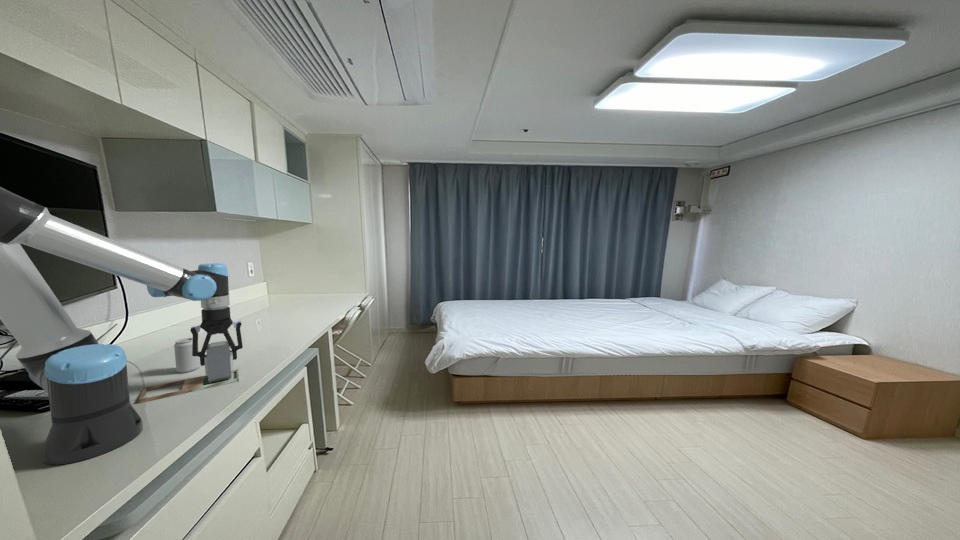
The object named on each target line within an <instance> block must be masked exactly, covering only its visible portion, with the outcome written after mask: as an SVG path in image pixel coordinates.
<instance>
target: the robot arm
mask: <svg viewBox="0 0 960 540" xmlns="http://www.w3.org/2000/svg"><path fill="white" fill-rule="evenodd" d="M22 245H24V246H28V247H31V248H33V249H36V250H39V251H42V252H45V253H48V254H52V255H54V256H57V257H59V258H64V259H67V260H69V261H73V262H75V263H79V264H81V265H85V266H88V267H91V268H94V269H96V270H100V271H103V272H106V273H109V274H112V275H114V276H117V277H120V278H123V279H127V280H130V281H133V282H136V283H139V284H142V285H145V286H146V290H147V293H148V295H150V296H151V297H153V298H162V297H163V298H166V297H177V298H183V299H185V300H189V301H192V302H196V301H197V302H200V308H202V309H201V310H200V312H201V323H200V324H199V325H196V326H192V327H191V328H190V332H191V334H192V338H193V343H192V356H194V357H195V356H198V357H199V365H200V367H203V366H204V371H205V373H204V374H205V375H208V367H207V352H206V348H207V346H208V344H210V341H211V337H212V336H214V335H217V334H221V335H223V336H224V338H225V341H227V342H228V344H229V346H230V364H231V370H235V369H234V361H235V360H236V361H237V360H238V350H241V349H243V347H244V346H243V339H242V333H241V327H242V321H241V320H239V321H235V320H232V318H231V307H229V306H230V305H231V304H230V302H231V301H230V293H229V292H230V291H229V272H228V266H227V265H226V264H225V263H217V262H216V263H215V262H214V263H201V264H199V265H198V267H197V269H196V270H188V269H185V268H183V267H181V266H178V265H176V264H174V263H171V262H169V261H167V260H164V259H161V258H159V257H156V256H154V255H151V254H150V253H146V252H145V251H141V250H139V249H137V248H134V247H131V246H129V245H127V244H124V243H121V242H120V241H116V240H115V239H112V238H109V237H108V236H104V235H102V234H99V233H98V232H94V231H92V230H90V229H87V228H85V227H82V226H80V225H77V224H74V223H72V222H69V221H66V220H65V219H62V218H59V217H57V216H55V215H52V214H51V213H50V211H49V210H48V207H45V206H43V205H41V204H38V203H36V202H34V201H31V200H30V199H27V198H25V197H22V196H20V195H18V194H16V193H13V192H12V191H9V190H8V189H6V188H3V187H1V186H0V321H1V323H2V324H3V325H4V326H5V327H6V328H7V330H8V332H9V333H10V334H11V335H12V336H13V338H14V339H15V340H16V341H17V343H18V344H19V346H21V347H20V349H19V350H18V351H17V353H16V354H15V357H16V359H17V360H18V362H19V363H20V364H21V365H22V366H23V368H24V369H25V370H26V371H27V373H28V377H29V379H30V380H31V381H32V382H33V383H34V384H36V385H37V386H39V387H40V388H41V389H42V390H44V392H46V393H47V396H48V401H49V410H50V411H49V412H50V417H51V426H50V428H49V432H48V434H47V435H46V439H45V440H44V441H45V442H44V444H43V447H42V449H41V457H42V463H44V464H46V465H50V466H51V465H52V466H55V465H57V466H58V465H67V464H71V463H76V462H80V461H84V460H89V459H91V458H95V457H98V456H100V455H103V454H106V453H108V452H111V451H113V450H115V449H117V448H120V447H122V446H124V445H125V444H127V443H129V442H131V441H132V440H134V439H135V438H136V437H138V436H139V435H140V434H141V433H142V431H143V429H144V428H143V427H144V426H143V419H142V417H141V416H140V415H139V414H138V412H137V411H136V409H135V408H134V407H133V405H132V404H131V399H130V397H131V396H130V388H129V378H128V366H127V362H128V358H127V356H126V351H125V350H124V348H123V347H121V346H119V345H117V344H111V343H108V344H104V343H99V341H98V340H97V339H96V337H95V335H94V334H93V333H92V332H91V330H90V329H82V328H79V327H77V326H76V324H75V322H74V321H73V320H72V318H71V316H70V315H69V314H68V313H67V311H66V310H65V308H64V307H63V305H62V303H61V302H60V300H59V299H58V298H57V296H56V295H55V293H54V292H53V290H52V289H51V287H50V286H49V284H48V283H47V282H46V280H45V279H44V277H43V276H42V274H41V273H40V271H39V270H38V269H37V266H36V265H35V264H34V263H33V261H32V260H31V259H30V257H29V255H28V254H27V252H26V250H25V249H24V248H23V246H22ZM232 325H233V327H234V328H235V333H236V339H237V345H236V344H235V342H234V340H233V338H232V336H231V334H230V333H229V332H230V331H228V330H229V329H230V328H231V326H232ZM201 329H202V330H203V331H205V332H206V336H205V338H204V341H203V345H202V347H201V350H200V351H199V333H200V331H201Z"/></svg>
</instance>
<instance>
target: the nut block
mask: <svg viewBox="0 0 960 540" xmlns="http://www.w3.org/2000/svg"><path fill="white" fill-rule="evenodd" d="M230 350H231V347H230V346H229V344H228V342H227V340H222V341H215V342H214V341H213V342H210V343H209V344H208V346H207V348H206V352H205V353H206V354H207V367H208V378H207V379H208V381H207V382H208V383H209V384H212V383H217V382H221V381H226V380H231V379H232V373H231V364H230Z"/></svg>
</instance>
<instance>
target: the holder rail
mask: <svg viewBox="0 0 960 540" xmlns="http://www.w3.org/2000/svg"><path fill="white" fill-rule="evenodd" d="M234 372H235V373H236V378H230V379H226V380H221V381H216V382H212V383H209V384H205V385H204V383H205V379H208V375H206V374H205V375H200V376H195V377H191V378H186V379H181V380H177V381H176V380H175V381H171V382H166V383H160V384H156V385H151V386H150V385H149V386H146V387H144V388H143V390H142V392H141V394H140V395H139V398H137V404H140V403H141V404H142V403H147V402H150V401H154V400H160V399H163V398H168V397H173V396H178V395H181V394H188V393H192V392H195V391H199V390H206V389H210V388H214V387H218V386H222V385H223V384H224V385H226V384H227V383H228V384H232V383H231V382H233V383H236V382H235V381H237V382H239V381H240V377H239V376H240V375H239V368H235V369H234V370H231V374H234ZM181 384H183V385H182V388H181V390H176V391H171V392H166V393H163V394H162V393H161V394H158V395H152V396H148V397H145V396H146V393H147V391H152V390H156V389H161V388H166V387H170V386H176V385H181ZM228 384H227V385H228Z"/></svg>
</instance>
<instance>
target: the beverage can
mask: <svg viewBox="0 0 960 540" xmlns="http://www.w3.org/2000/svg"><path fill="white" fill-rule="evenodd" d="M192 343H193V337H184V338H180V339H178V340H177V339H176V340H175V343H174V345H173V347H174V348H173V349H174V357H175V358H174V360H175V371H176V372H178V373H179V374H186V373H191V372H193V371H195V370H197V369H199V367H201V365H200V357H198V356H195V357H194V356H192Z"/></svg>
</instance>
